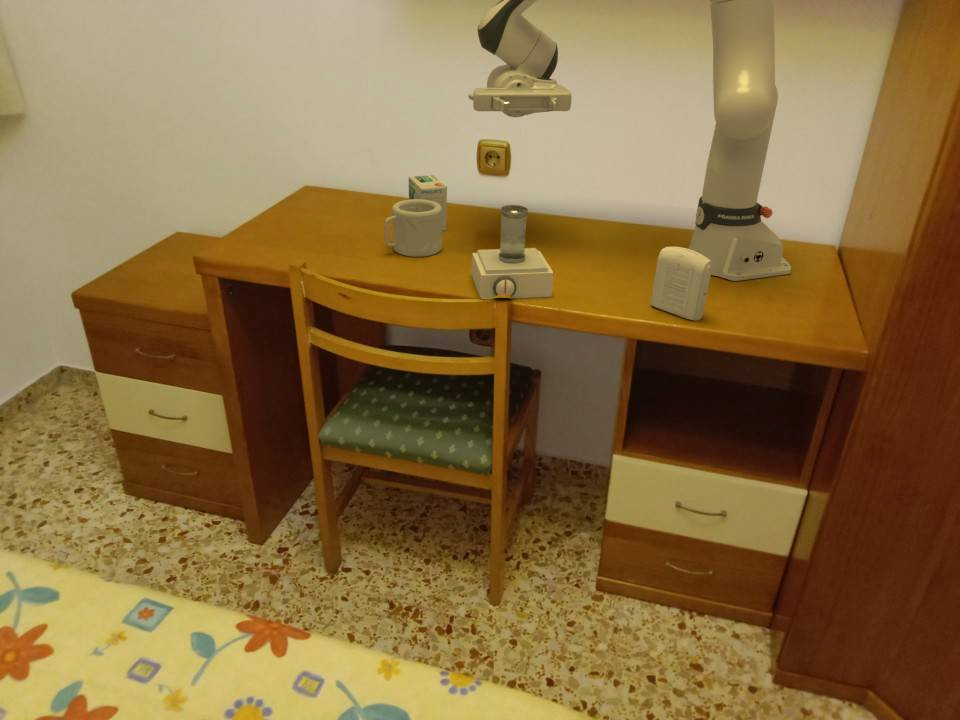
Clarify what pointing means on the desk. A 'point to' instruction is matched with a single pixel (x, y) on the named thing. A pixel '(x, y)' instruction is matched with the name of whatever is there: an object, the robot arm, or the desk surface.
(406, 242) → the mug
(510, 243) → the glass jar
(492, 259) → the scale
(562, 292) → the desk surface
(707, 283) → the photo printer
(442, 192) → the light bulb box
